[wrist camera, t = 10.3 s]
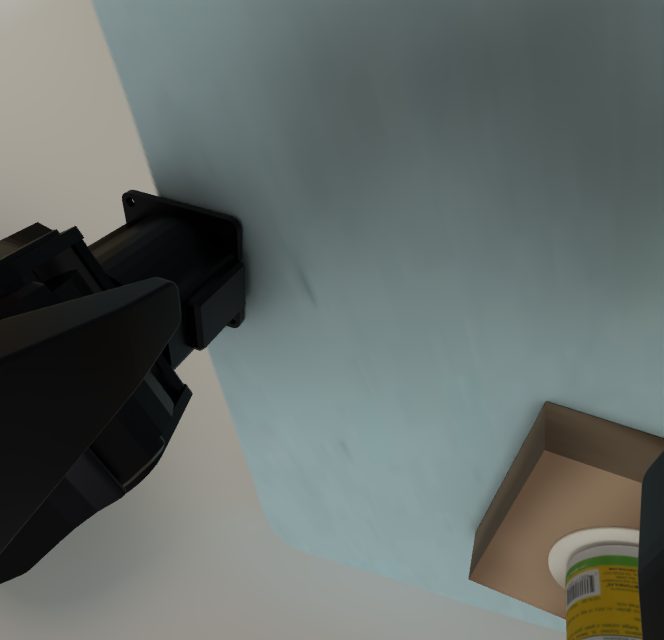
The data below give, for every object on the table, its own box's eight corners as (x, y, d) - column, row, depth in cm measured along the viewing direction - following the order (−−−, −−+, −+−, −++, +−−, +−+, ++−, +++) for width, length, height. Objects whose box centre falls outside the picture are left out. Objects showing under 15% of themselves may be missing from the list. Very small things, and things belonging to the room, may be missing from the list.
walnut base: (475, 532, 30) (468, 582, 28) (546, 401, 23) (544, 453, 20) (688, 615, 27) (700, 679, 25) (848, 497, 20) (888, 570, 17)
